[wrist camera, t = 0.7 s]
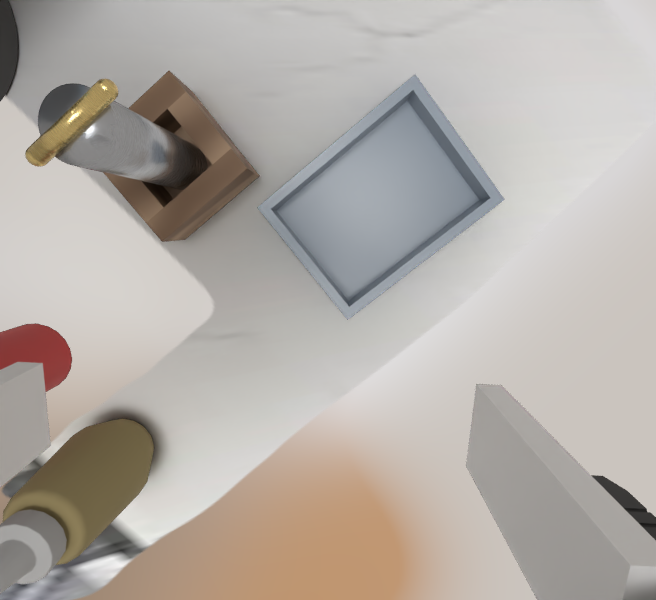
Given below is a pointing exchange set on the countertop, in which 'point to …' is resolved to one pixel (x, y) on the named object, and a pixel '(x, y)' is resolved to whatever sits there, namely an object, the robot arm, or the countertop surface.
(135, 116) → the steel pin
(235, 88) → the countertop surface
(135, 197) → the block
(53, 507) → the squeeze bottle
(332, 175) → the tray
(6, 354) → the beer can
